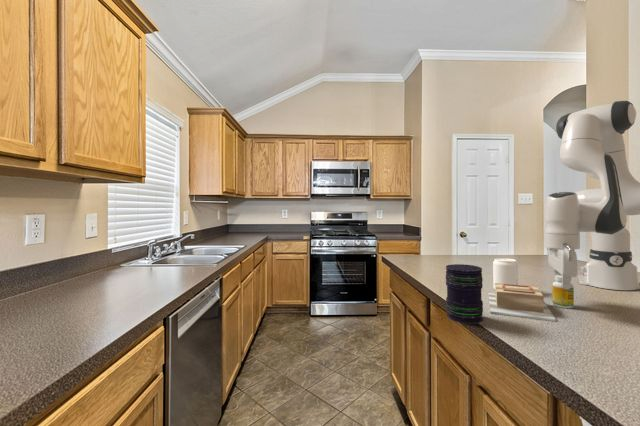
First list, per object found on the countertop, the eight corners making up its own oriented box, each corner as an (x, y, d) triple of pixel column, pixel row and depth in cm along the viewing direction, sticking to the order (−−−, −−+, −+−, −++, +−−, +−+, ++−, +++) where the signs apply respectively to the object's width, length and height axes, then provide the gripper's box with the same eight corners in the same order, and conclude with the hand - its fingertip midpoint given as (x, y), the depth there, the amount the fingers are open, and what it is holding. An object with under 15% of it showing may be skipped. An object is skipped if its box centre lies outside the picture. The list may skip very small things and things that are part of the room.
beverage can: (494, 287, 122) (494, 257, 122) (518, 289, 117) (518, 259, 117) (492, 291, 115) (491, 260, 115) (517, 295, 111) (517, 262, 110)
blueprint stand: (488, 294, 112) (488, 278, 112) (541, 299, 104) (541, 282, 104) (490, 313, 92) (490, 293, 92) (555, 321, 85) (555, 300, 85)
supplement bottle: (556, 302, 101) (556, 273, 101) (576, 306, 97) (576, 276, 97) (549, 305, 98) (549, 276, 98) (570, 309, 94) (569, 279, 94)
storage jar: (446, 321, 87) (446, 269, 86) (445, 310, 96) (444, 263, 96) (486, 325, 83) (485, 271, 83) (480, 313, 92) (479, 265, 92)
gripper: (584, 246, 87) (584, 294, 87) (566, 240, 105) (566, 279, 105) (557, 245, 90) (557, 291, 90) (543, 239, 108) (543, 278, 108)
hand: (561, 285), depth 97 cm, fingers open, 8 cm apart
